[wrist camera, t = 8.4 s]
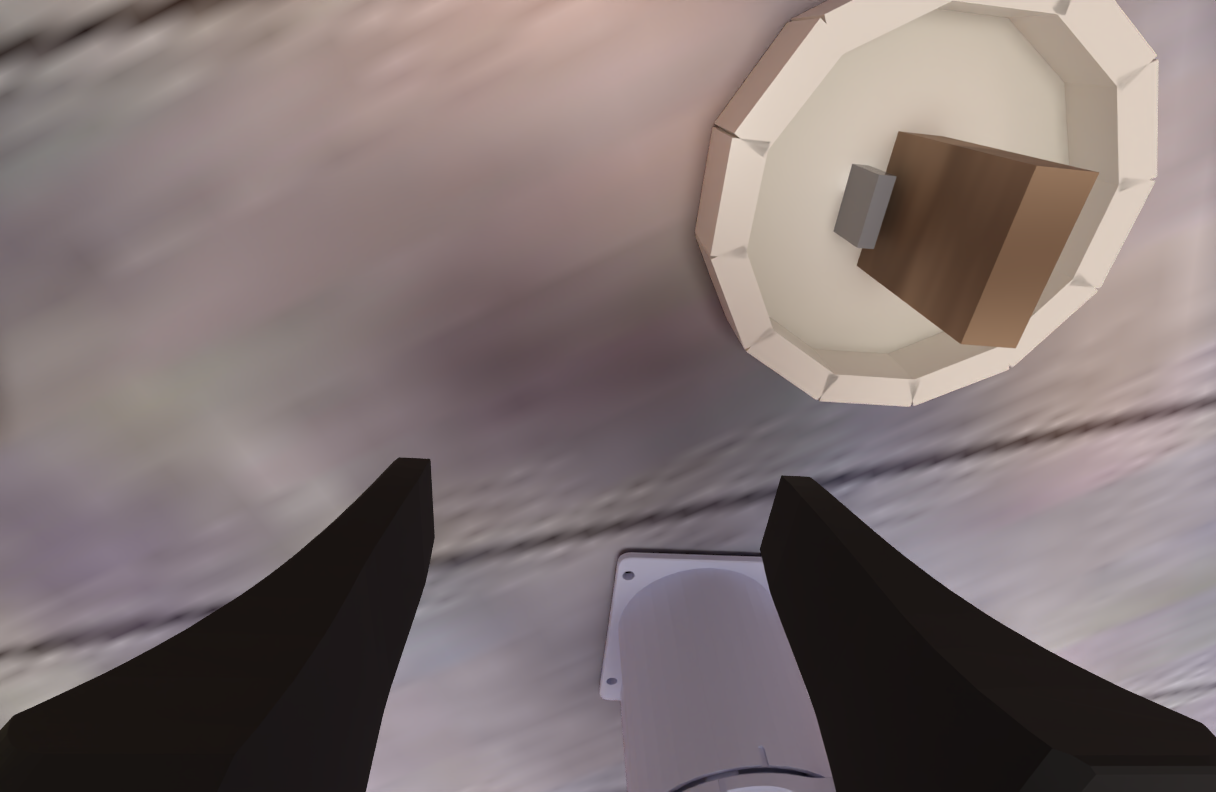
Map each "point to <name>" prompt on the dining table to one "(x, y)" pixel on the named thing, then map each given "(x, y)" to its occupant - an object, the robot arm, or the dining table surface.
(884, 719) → the robot arm
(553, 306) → the dining table surface
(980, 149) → the brown wooden block
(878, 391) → the white shallow dish
